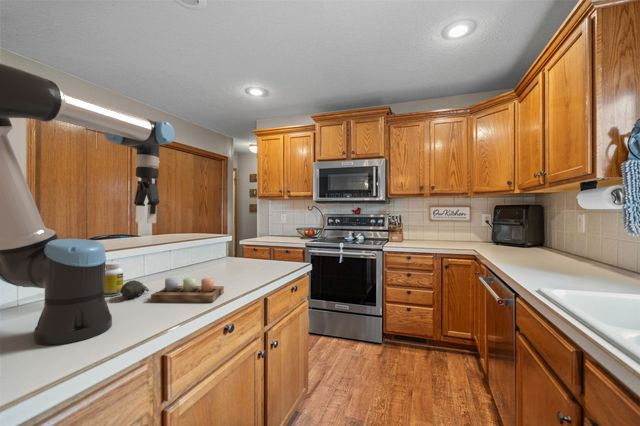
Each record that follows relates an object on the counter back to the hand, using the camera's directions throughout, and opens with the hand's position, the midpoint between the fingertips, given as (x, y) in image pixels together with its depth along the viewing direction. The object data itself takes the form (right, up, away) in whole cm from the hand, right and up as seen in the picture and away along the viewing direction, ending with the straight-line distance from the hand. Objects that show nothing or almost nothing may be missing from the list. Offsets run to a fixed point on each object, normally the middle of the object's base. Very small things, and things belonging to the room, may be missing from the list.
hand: (145, 222), depth 108 cm
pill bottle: (-10, -27, -4) cm, 29 cm away
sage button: (+20, -24, -6) cm, 32 cm away
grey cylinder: (+13, -24, -6) cm, 28 cm away
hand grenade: (0, -27, -6) cm, 28 cm away
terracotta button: (+26, -25, -5) cm, 36 cm away
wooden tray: (+20, -27, -6) cm, 34 cm away
